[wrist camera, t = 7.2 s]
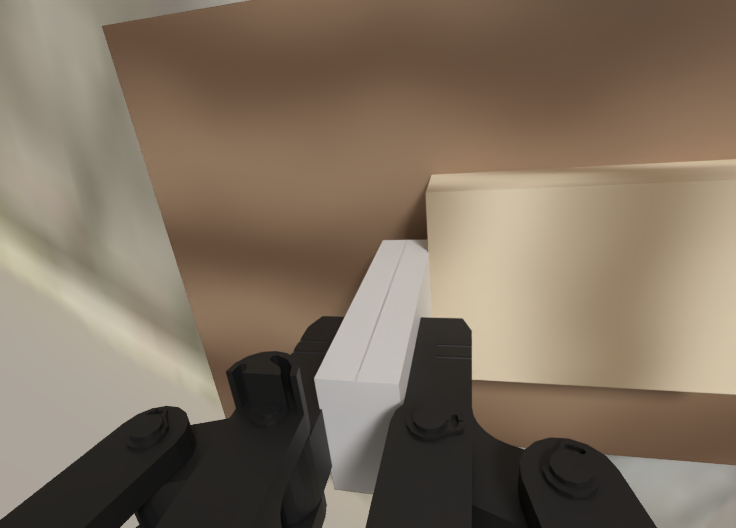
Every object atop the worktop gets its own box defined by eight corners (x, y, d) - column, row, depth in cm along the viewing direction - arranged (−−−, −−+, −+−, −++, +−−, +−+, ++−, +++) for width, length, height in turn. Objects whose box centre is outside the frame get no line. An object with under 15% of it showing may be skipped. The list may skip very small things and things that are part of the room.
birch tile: (438, 341, 15) (434, 377, 14) (431, 174, 13) (425, 192, 11) (732, 352, 13) (772, 396, 12) (789, 156, 11) (850, 174, 9)
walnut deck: (145, 30, 15) (101, 26, 13) (857, -88, 10) (938, -120, 9) (247, 392, 22) (227, 422, 20) (714, 423, 17) (743, 465, 15)
